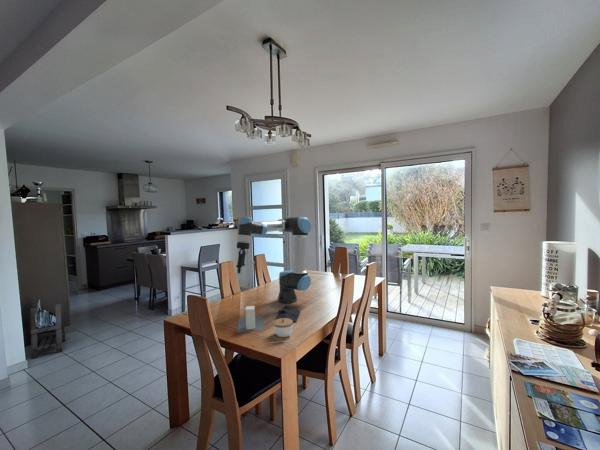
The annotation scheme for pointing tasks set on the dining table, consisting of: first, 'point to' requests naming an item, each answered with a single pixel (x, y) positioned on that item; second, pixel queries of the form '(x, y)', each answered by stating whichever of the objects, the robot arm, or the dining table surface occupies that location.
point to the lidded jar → (283, 327)
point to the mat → (258, 325)
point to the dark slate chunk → (289, 313)
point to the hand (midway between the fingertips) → (239, 277)
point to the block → (250, 317)
